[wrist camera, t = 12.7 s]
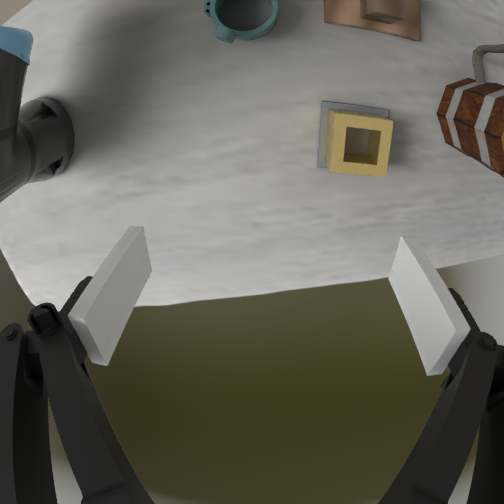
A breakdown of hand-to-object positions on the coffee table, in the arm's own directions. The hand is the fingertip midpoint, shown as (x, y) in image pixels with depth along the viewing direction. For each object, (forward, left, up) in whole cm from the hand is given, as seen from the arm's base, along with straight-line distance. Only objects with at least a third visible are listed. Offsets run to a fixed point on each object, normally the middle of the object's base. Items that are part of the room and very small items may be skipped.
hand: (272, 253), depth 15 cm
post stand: (+14, +23, -32) cm, 42 cm away
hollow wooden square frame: (+12, 0, -31) cm, 33 cm away
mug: (+32, +10, -32) cm, 46 cm away
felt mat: (+12, 0, -32) cm, 34 cm away
